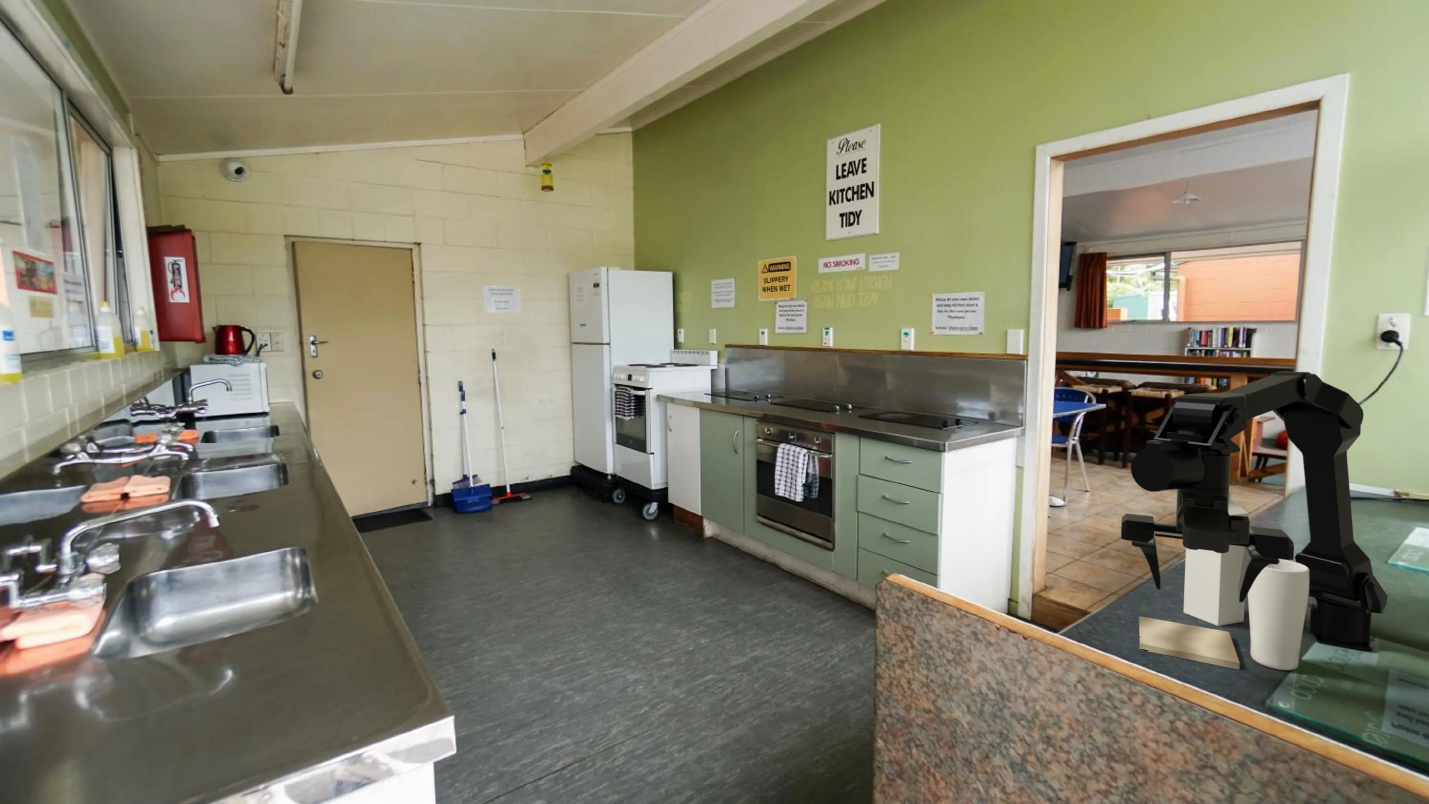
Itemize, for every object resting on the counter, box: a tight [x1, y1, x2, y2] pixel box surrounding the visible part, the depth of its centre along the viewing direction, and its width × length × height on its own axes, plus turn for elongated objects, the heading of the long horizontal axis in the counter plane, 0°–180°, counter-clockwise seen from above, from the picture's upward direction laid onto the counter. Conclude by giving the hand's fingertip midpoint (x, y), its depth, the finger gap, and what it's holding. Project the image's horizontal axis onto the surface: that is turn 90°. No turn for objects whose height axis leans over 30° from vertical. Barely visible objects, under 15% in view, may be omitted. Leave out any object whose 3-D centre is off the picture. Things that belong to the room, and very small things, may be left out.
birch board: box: [1138, 616, 1241, 670], centre depth 100 cm, size 12×12×1 cm
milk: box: [1183, 490, 1249, 627], centre depth 109 cm, size 6×6×22 cm
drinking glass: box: [1247, 559, 1310, 671], centre depth 93 cm, size 7×7×15 cm
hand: (1198, 594), depth 89 cm, fingers open, 9 cm apart
